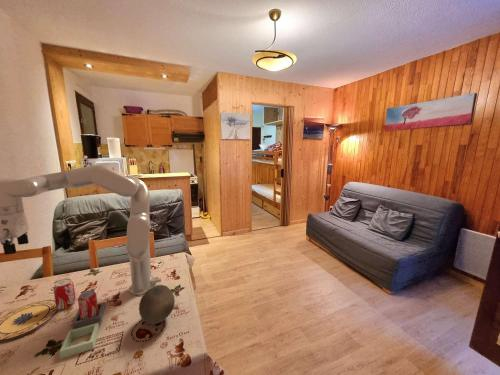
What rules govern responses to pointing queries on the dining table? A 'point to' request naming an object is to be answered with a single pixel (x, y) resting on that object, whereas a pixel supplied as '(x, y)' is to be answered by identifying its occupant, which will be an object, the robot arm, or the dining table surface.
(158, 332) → the dining table surface
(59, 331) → the dining table surface
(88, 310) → the soda can
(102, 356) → the dining table surface
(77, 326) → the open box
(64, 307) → the soda can
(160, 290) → the cantaloupe
